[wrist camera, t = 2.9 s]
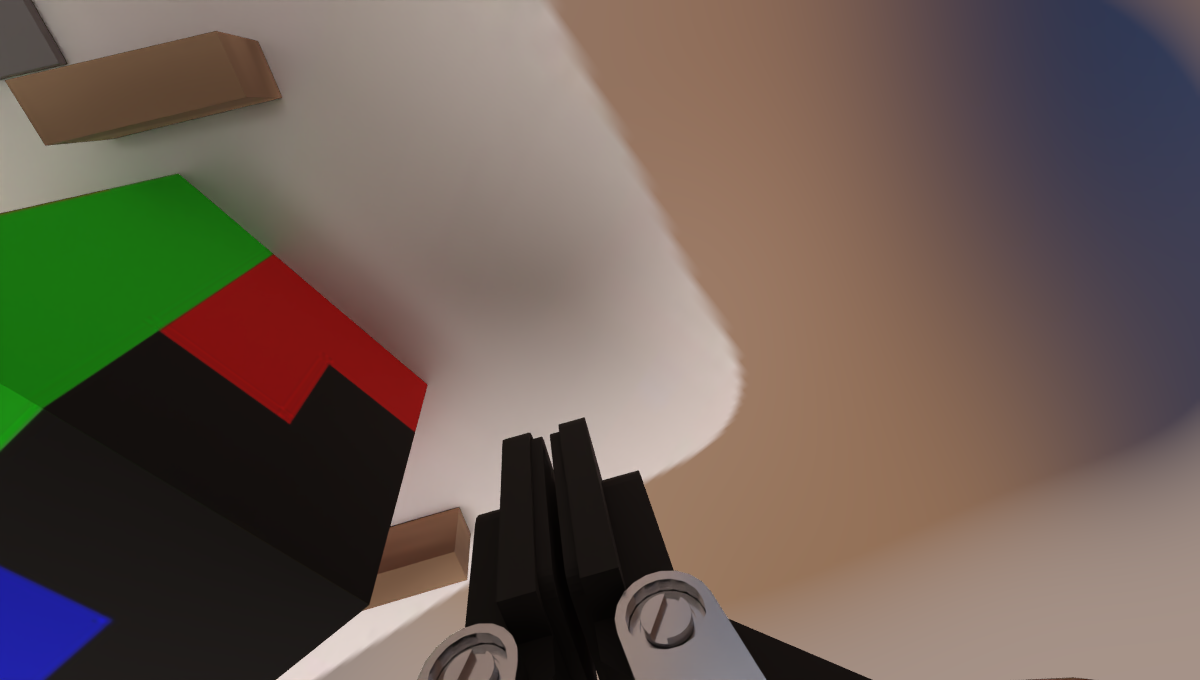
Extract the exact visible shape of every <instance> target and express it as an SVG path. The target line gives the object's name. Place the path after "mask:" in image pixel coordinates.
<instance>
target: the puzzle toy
mask: <svg viewBox="0 0 1200 680" xmlns="http://www.w3.org/2000/svg"><path fill="white" fill-rule="evenodd" d="M426 389H427V384H426V383H425V382H424V381H422V380H421V379H420V378H419V377H418V376H416V375H415V374H414V373H413V372H412V371H411V370H409V369H408V368H407V367H406V366H405V365H404V364H402V363H401V362H400V361H399V360H398V359H396V358H395V357H394V356H393V355H392V354H391V353H389V352H388V351H387V350H386V349H385V348H383V347H382V346H381V345H380V344H379V343H378V342H376V341H375V340H374V339H373V338H372V337H370V336H369V335H368V334H367V333H366V332H365V331H363V330H362V329H361V328H360V327H359V326H358V325H356V324H355V323H354V322H353V321H352V320H350V319H349V318H348V317H347V316H346V315H345V314H343V313H342V312H341V311H340V310H339V309H337V308H336V307H335V306H334V305H333V304H332V303H330V302H329V301H328V300H327V299H326V298H324V297H323V296H322V295H321V294H320V293H319V292H317V291H316V290H315V289H314V288H313V287H312V286H310V285H309V284H308V283H307V282H306V281H304V280H303V279H302V278H301V277H300V276H299V275H297V274H296V273H295V272H294V271H293V270H291V269H290V268H289V267H288V266H287V265H286V264H284V263H283V262H282V261H281V260H280V259H278V258H277V257H276V256H275V255H274V254H273V253H271V252H270V251H269V250H268V249H267V248H266V247H264V246H263V245H262V244H261V243H260V242H258V241H257V240H256V239H255V238H254V237H253V236H251V235H250V234H249V233H248V232H247V231H245V230H244V229H243V228H242V227H241V226H240V225H238V224H237V223H236V222H235V221H234V220H232V219H231V218H230V217H229V216H228V215H227V214H225V213H224V212H223V211H222V210H221V209H220V208H218V207H217V206H216V205H215V204H214V203H212V202H211V201H210V200H209V199H208V198H207V197H205V196H204V195H203V194H202V193H201V192H199V191H198V190H197V189H196V188H195V187H194V186H192V185H191V184H190V183H189V182H188V181H187V180H185V179H184V178H183V177H182V176H181V175H179V174H174V175H169V176H165V177H160V178H156V179H151V180H147V181H142V182H138V183H134V184H129V185H125V186H120V187H116V188H111V189H107V190H102V191H98V192H94V193H89V194H85V195H80V196H76V197H71V198H67V199H62V200H58V201H54V202H49V203H45V204H40V205H36V206H31V207H27V208H22V209H18V210H14V211H9V212H5V213H0V680H276V679H277V678H279V677H280V676H281V675H282V674H284V673H285V672H286V671H287V670H289V669H290V668H291V667H292V666H294V665H295V664H296V663H297V662H299V661H300V660H301V659H302V658H304V657H305V656H306V655H307V654H309V653H310V652H311V651H312V650H314V649H315V648H316V647H317V646H319V645H320V644H321V643H322V642H324V641H325V640H326V639H327V638H329V637H330V636H331V635H332V634H334V633H335V632H336V631H337V630H339V629H340V628H341V627H342V626H344V625H345V624H346V623H347V622H349V621H350V620H351V619H352V618H354V617H355V616H356V615H357V614H359V613H360V612H361V611H362V610H364V609H365V608H366V607H367V606H369V605H370V601H371V597H372V593H373V589H374V586H375V582H376V578H377V574H378V570H379V567H380V563H381V559H382V555H383V552H384V548H385V544H386V540H387V536H388V533H389V529H390V525H391V521H392V518H393V514H394V510H395V506H396V502H397V499H398V495H399V491H400V487H401V483H402V480H403V476H404V472H405V468H406V465H407V461H408V457H409V453H410V449H411V446H412V442H413V438H414V434H415V431H416V427H417V423H418V419H419V415H420V412H421V408H422V404H423V400H424V396H425V393H426Z"/></svg>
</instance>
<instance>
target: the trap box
mask: <svg viewBox="0 0 1200 680" xmlns="http://www.w3.org/2000/svg"><path fill="white" fill-rule="evenodd" d="M5 82H6V83H7V85H8V86H9V88H10V90H11V91H12V93H13V94H14V96H15V98H16V99H17V101H18V102H19V104H20V106H21V107H22V109H23V110H24V112H25V114H26V115H27V117H28V118H29V120H30V122H31V123H32V125H33V127H34V128H35V130H36V131H37V133H38V135H39V136H40V138H41V139H42V141H43V143H44V144H45V146H46V145H57V144H67V143H77V142H87V141H98V140H108V139H113V138H118V137H122V136H126V135H130V134H134V133H138V132H142V131H146V130H151V129H155V128H159V127H163V126H167V125H171V124H175V123H180V122H184V121H188V120H192V119H196V118H200V117H204V116H208V115H213V114H217V113H221V112H225V111H229V110H233V109H237V108H242V107H246V106H250V105H254V104H258V103H262V102H266V101H270V100H275V99H279V98H282V96H281V94H280V91H279V89H278V87H277V85H276V82H275V80H274V78H273V75H272V73H271V71H270V68H269V66H268V64H267V61H266V59H265V57H264V54H263V52H262V50H261V48H260V45H259V43H258V41H255V40H251V39H247V38H243V37H239V36H235V35H230V34H226V33H222V32H218V31H214V32H210V33H206V34H201V35H197V36H193V37H188V38H184V39H180V40H176V41H171V42H167V43H163V44H158V45H154V46H150V47H146V48H141V49H137V50H133V51H129V52H124V53H120V54H116V55H111V56H107V57H103V58H99V59H94V60H90V61H86V62H81V63H77V64H73V65H69V66H64V67H60V68H56V69H52V70H47V71H43V72H39V73H34V74H30V75H26V76H22V77H17V78H13V79H9V80H5ZM470 535H471V534H470V531H469V529H468V527H467V524H466V522H465V520H464V517H463V515H462V513H461V510H460V508H455V509H452V510H448V511H445V512H441V513H438V514H434V515H431V516H427V517H424V518H420V519H417V520H413V521H410V522H407V523H403V524H400V525H396V526H393V527H390V529H389V533H388V536H387V540H386V544H385V548H384V552H383V555H382V559H381V563H380V567H379V570H378V574H377V578H376V582H375V586H374V589H373V593H372V597H371V601H370V605H369V606H367V607H366V608H365V609H364V610H367V609H370V608H373V607H377V606H380V605H383V604H387V603H390V602H394V601H397V600H400V599H404V598H407V597H411V596H414V595H417V594H421V593H424V592H427V591H431V590H434V589H438V588H441V587H444V586H448V585H451V584H454V583H458V582H461V581H465V580H467V575H468V562H469V548H470ZM362 611H363V610H362Z"/></svg>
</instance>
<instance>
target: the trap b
mask: <svg viewBox="0 0 1200 680" xmlns="http://www.w3.org/2000/svg"><path fill="white" fill-rule="evenodd" d="M64 64H67V63H66V61H65V59H64V57H63V56H62V54H61V52H60V51H59V49H58V47H57V45H56V44H55V42H54V40H53V38H52V37H51V35H50V33H49V31H48V30H47V28H46V26H45V24H44V23H43V21H42V19H41V17H40V16H39V14H38V12H37V10H36V9H35V7H34V5H33V3H32V2H31V0H0V79H4V78H8V77H13V76H17V75H21V74H26V73H30V72H34V71H38V70H43V69H47V68H51V67H56V66H60V65H64Z"/></svg>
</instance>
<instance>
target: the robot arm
mask: <svg viewBox="0 0 1200 680" xmlns="http://www.w3.org/2000/svg"><path fill="white" fill-rule="evenodd" d="M550 441H551V450H552V459H553V467H552V464H551V461H550V458H549V455H548V452H547V449H546V446H545V442H544V440H543V438H542V437H539V438H535V439H533V437H532V435H531V433H526V434H523V435H519V436H515V437H512V438H508V439H504V440H503V444H502V470H501V496H500V509H499V510H495V511H492V512H488V513H485V514H481V515H478V517H477V518H476V523H475V532H474V542H473V552H472V563H471V573H470V583H469V594H468V604H467V614H466V624H465V628H463V629H461V630H459V631H457V632H456V633H454V634H452V635H450V636H449V637H448V638H446V640H444V641H443V642H442V643H441V644H440V645H438V646H437V647H436V648H435V649H434V651H433V652H432V653H431V655H430V656H429V657H428V659H427V660H426V661H425V663H424V665H423V667H422V670H421V672H420V674H419V676H418V679H417V680H597V675H596V671H597V674H598V677H599V680H871V679H869V678H867V677H864V676H862V675H860V674H857V673H855V672H852V671H850V670H848V669H845V668H843V667H841V666H839V665H836V664H834V663H831V662H829V661H827V660H824V659H822V658H820V657H817V656H815V655H813V654H810V653H808V652H805V651H803V650H801V649H798V648H796V647H794V646H791V645H789V644H787V643H784V642H782V641H780V640H777V639H775V638H772V637H770V636H768V635H765V634H763V633H761V632H758V631H756V630H753V629H751V628H749V627H747V626H744V625H742V624H740V623H737V622H735V621H733V620H730V619H728V618H727V616H726V615H725V613H724V611H723V610H722V608H721V607H720V605H719V604H718V602H717V600H716V599H715V597H714V595H713V594H712V592H711V591H710V590H709V589H708V588H707V586H706V585H705V584H704V583H703V582H702V581H700V580H699V579H697V578H695V577H694V576H692V575H690V574H687V573H683V572H679V571H674V570H673V567H672V564H671V561H670V558H669V556H668V553H667V550H666V547H665V544H664V541H663V538H662V535H661V533H660V530H659V527H658V524H657V521H656V518H655V515H654V512H653V510H652V507H651V504H650V501H649V498H648V495H647V493H646V489H645V487H644V484H643V481H642V478H641V475H640V473H639V471H635V472H631V473H627V474H624V475H620V476H617V477H613V478H610V479H606V480H602V478H601V474H600V470H599V467H598V463H597V460H596V456H595V452H594V449H593V445H592V442H591V438H590V435H589V431H588V427H587V424H586V420H585V417H584V418H581V419H577V420H573V421H570V422H566V423H563V424H559V432H557V433H553V434H550ZM553 469H554V470H553ZM1028 680H1092V679H1083V678H1074V677H1072V678H1051V679H1028Z"/></svg>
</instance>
